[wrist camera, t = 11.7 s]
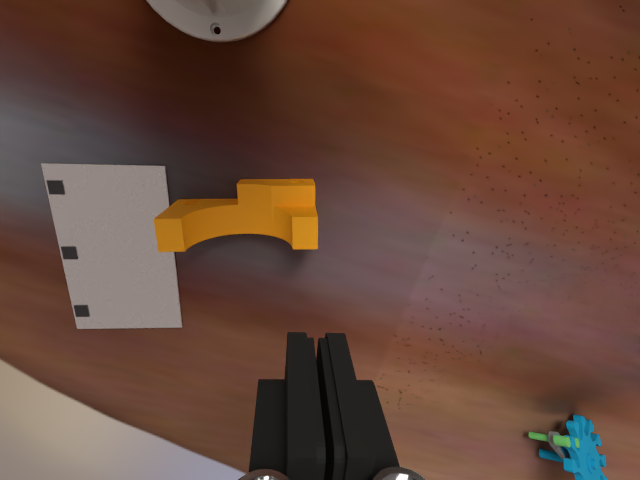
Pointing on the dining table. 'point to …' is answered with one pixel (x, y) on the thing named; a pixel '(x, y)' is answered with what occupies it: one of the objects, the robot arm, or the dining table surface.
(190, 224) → the pipe clamp
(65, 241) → the door panel
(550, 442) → the gear
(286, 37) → the dining table surface
